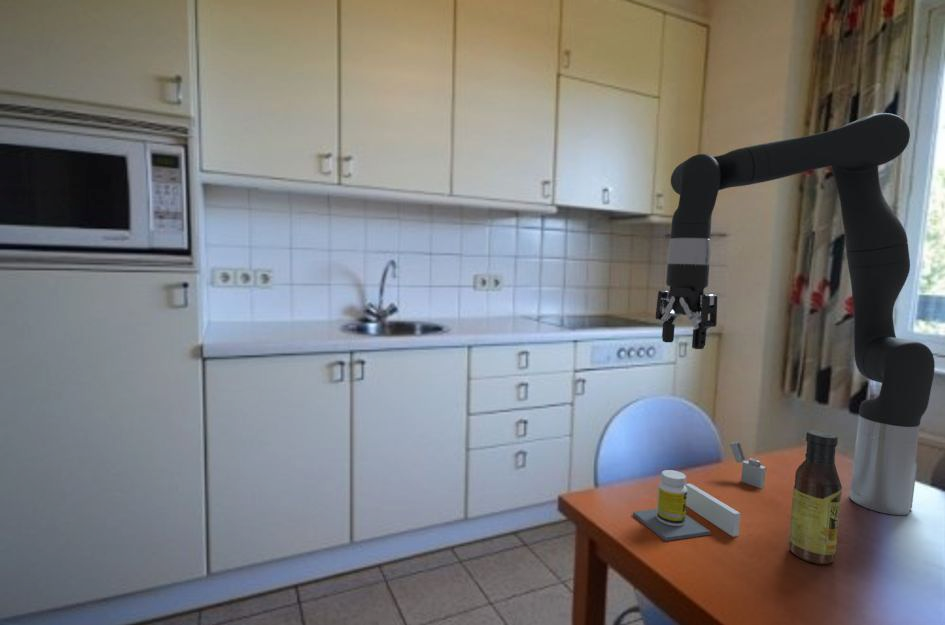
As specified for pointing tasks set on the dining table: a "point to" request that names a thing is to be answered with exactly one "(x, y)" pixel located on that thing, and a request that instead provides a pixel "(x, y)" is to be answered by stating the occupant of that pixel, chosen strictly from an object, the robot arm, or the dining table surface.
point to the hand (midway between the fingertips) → (682, 345)
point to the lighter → (749, 467)
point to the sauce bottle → (816, 501)
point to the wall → (713, 510)
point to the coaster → (671, 532)
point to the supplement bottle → (672, 498)
